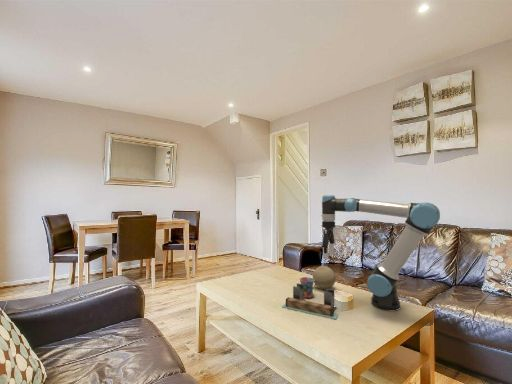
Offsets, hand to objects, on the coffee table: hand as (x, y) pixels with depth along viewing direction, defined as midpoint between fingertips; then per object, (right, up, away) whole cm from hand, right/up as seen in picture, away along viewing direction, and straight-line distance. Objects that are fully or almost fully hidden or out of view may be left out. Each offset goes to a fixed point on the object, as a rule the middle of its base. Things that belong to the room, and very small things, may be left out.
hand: (328, 256), depth 158 cm
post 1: (-18, -27, -3) cm, 33 cm away
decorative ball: (+3, -27, +21) cm, 34 cm away
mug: (-10, -27, +8) cm, 30 cm away
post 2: (-3, -27, -11) cm, 29 cm away
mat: (-14, -27, -14) cm, 33 cm away
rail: (-15, -26, -14) cm, 33 cm away
